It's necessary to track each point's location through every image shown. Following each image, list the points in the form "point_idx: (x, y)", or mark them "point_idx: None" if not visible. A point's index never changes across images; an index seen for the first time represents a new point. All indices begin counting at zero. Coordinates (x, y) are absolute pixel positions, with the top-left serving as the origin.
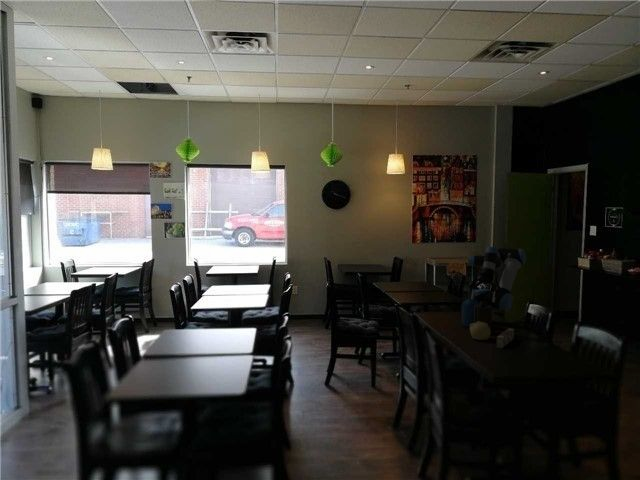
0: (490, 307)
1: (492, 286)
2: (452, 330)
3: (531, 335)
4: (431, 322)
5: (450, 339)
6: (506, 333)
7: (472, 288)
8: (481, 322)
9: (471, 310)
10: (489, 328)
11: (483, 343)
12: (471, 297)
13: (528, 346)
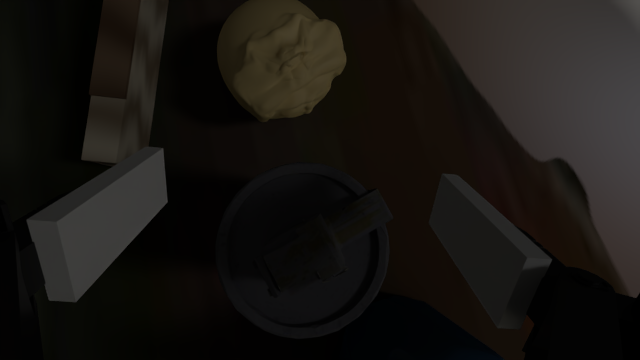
0: (223, 216)
1: (16, 330)
2: None
3: None
4: None
5: (406, 11)
6: (106, 11)
7: (567, 272)
8: (267, 34)
9: (425, 339)
10: (219, 54)
11: None
12: (457, 180)
13: (24, 48)
